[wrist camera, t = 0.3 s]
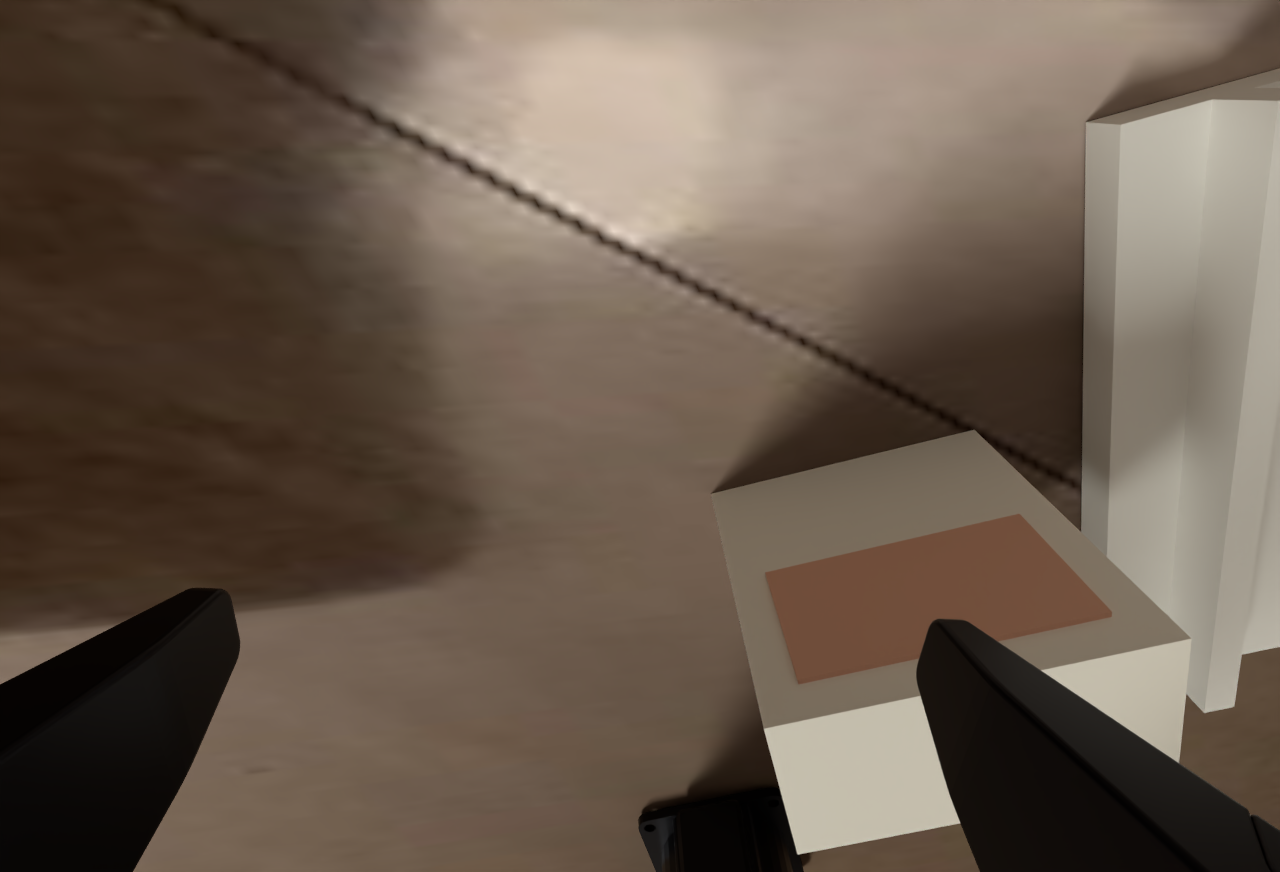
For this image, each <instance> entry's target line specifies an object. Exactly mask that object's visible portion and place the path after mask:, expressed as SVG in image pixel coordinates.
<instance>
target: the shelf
mask: <svg viewBox="0 0 1280 872" xmlns="http://www.w3.org/2000/svg"><path fill="white" fill-rule="evenodd" d="M1081 533H1082V534H1083V535H1084V536H1085V537H1087V538H1088V539H1089V540H1090V541H1091V542H1092V543H1093V544H1094V545H1095V546H1096V547H1097V548H1098V549H1099V550H1100V551H1101V552H1102V553H1103V554H1104V555H1105V556H1106V557H1107V558H1108V559H1109V560H1110V561H1111V562H1113V563H1114V564H1115V565H1116V566H1117V567H1118V568H1119V569H1120V570H1121V571H1122V572H1123V573H1124V574H1125V575H1126V576H1127V577H1128V578H1129V579H1130V580H1131V581H1132V582H1133V583H1134V584H1135V585H1136V586H1137V587H1139V588H1140V589H1141V590H1142V591H1143V592H1144V593H1145V594H1146V595H1147V596H1148V597H1149V598H1150V599H1151V600H1152V601H1153V602H1154V603H1155V604H1156V605H1157V606H1158V607H1159V608H1160V609H1161V610H1162V611H1164V612H1165V613H1166V614H1167V615H1168V616H1169V617H1170V618H1171V619H1172V620H1173V621H1174V622H1175V623H1176V624H1177V625H1178V626H1179V627H1180V628H1181V629H1182V630H1183V631H1184V632H1185V633H1186V634H1187V635H1188V636H1190V637H1191V638H1192V641H1191V650H1190V660H1189V670H1188V680H1187V689H1186V694H1187V695H1188V696H1189V697H1190V698H1191V699H1192V700H1193V701H1194V703H1195V704H1196V705H1197V706H1198V707H1199V708H1200V709H1201V710H1202V711H1203V712H1204V713H1206V712H1211V711H1216V710H1221V709H1226V708H1231V707H1234V704H1235V697H1236V690H1237V684H1238V677H1239V670H1240V663H1241V656H1242V654H1247V653H1252V652H1257V651H1261V650H1266V649H1271V648H1276V647H1280V68H1279V69H1275V70H1272V71H1268V72H1264V73H1261V74H1257V75H1254V76H1250V77H1247V78H1243V79H1239V80H1236V81H1232V82H1229V83H1225V84H1221V85H1218V86H1214V87H1211V88H1207V89H1203V90H1200V91H1196V92H1193V93H1189V94H1186V95H1182V96H1178V97H1175V98H1171V99H1168V100H1164V101H1160V102H1157V103H1153V104H1150V105H1146V106H1142V107H1139V108H1135V109H1132V110H1128V111H1125V112H1121V113H1117V114H1114V115H1110V116H1107V117H1103V118H1099V119H1096V120H1092V121H1089V122H1086V159H1085V246H1084V333H1083V420H1082V507H1081Z"/></svg>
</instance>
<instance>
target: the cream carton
mask: <svg viewBox="0 0 1280 872" xmlns="http://www.w3.org/2000/svg"><path fill="white" fill-rule="evenodd" d="M711 498H712V502H713V507H714V511H715V515H716V520H717V524H718V529H719V533H720V538H721V542H722V546H723V551H724V555H725V560H726V564H727V569H728V573H729V577H730V582H731V586H732V591H733V595H734V600H735V604H736V608H737V613H738V617H739V622H740V626H741V630H742V635H743V639H744V644H745V648H746V653H747V657H748V661H749V666H750V670H751V675H752V679H753V684H754V688H755V692H756V697H757V701H758V706H759V710H760V715H761V719H762V723H763V728H764V732H765V735H766V739H767V743H768V747H769V750H770V754H771V758H772V761H773V765H774V769H775V773H776V776H777V780H778V784H779V787H780V791H781V795H782V799H783V802H784V806H785V810H786V814H787V817H788V821H789V825H790V828H791V832H792V836H793V840H794V843H795V847H796V851H797V854H798V855H799V854H804V853H809V852H814V851H819V850H824V849H830V848H835V847H840V846H845V845H850V844H855V843H861V842H866V841H871V840H876V839H881V838H886V837H892V836H897V835H902V834H907V833H912V832H917V831H923V830H928V829H933V828H938V827H943V826H948V825H954V824H959V823H960V821H959V818H958V816H957V813H956V811H955V808H954V805H953V803H952V800H951V797H950V795H949V792H948V788H947V785H946V782H945V779H944V776H943V772H942V769H941V765H940V762H939V758H938V755H937V751H936V748H935V745H934V741H933V738H932V734H931V731H930V727H929V724H928V720H927V717H926V713H925V710H924V706H923V703H922V700H921V696H920V693H919V689H918V685H917V679H916V669H917V664H918V660H919V657H920V654H921V651H922V647H923V644H924V641H925V637H926V634H927V631H928V628H929V626H930V624H931V623H932V621H934V620H936V619H960V620H965V621H968V622H970V623H971V624H973V625H974V626H976V627H977V628H979V629H980V630H982V631H983V632H985V633H986V634H987V635H989V636H990V637H992V638H993V639H995V640H996V641H998V642H999V643H1001V644H1002V645H1004V646H1005V647H1007V648H1008V649H1010V650H1011V651H1013V652H1014V653H1016V654H1017V655H1019V656H1020V657H1022V658H1023V659H1025V660H1026V661H1028V662H1029V663H1031V664H1032V665H1034V666H1035V667H1037V668H1038V669H1040V670H1041V671H1043V672H1044V673H1046V674H1047V675H1049V676H1050V677H1052V678H1053V679H1054V680H1056V681H1057V682H1059V683H1060V684H1062V685H1063V686H1065V687H1066V688H1068V689H1069V690H1071V691H1072V692H1074V693H1075V694H1077V695H1078V696H1080V697H1081V698H1083V699H1084V700H1086V701H1087V702H1089V703H1090V704H1092V705H1093V706H1095V707H1096V708H1098V709H1099V710H1101V711H1102V712H1104V713H1105V714H1107V715H1108V716H1110V717H1111V718H1113V719H1114V720H1116V721H1117V722H1119V723H1120V724H1121V725H1123V726H1124V727H1126V728H1127V729H1129V730H1130V731H1132V732H1133V733H1135V734H1136V735H1138V736H1139V737H1141V738H1142V739H1144V740H1145V741H1147V742H1148V743H1150V744H1151V745H1153V746H1154V747H1156V748H1157V749H1159V750H1160V751H1162V752H1163V753H1165V754H1166V755H1168V756H1169V757H1171V758H1172V759H1174V760H1175V761H1177V762H1178V763H1179V758H1180V748H1181V738H1182V729H1183V719H1184V709H1185V699H1186V689H1187V680H1188V670H1189V660H1190V650H1191V641H1192V638H1191V637H1190V636H1188V635H1187V634H1186V633H1185V632H1184V631H1183V630H1182V629H1181V628H1180V627H1179V626H1178V625H1177V624H1176V623H1175V622H1174V621H1173V620H1172V619H1171V618H1170V617H1169V616H1168V615H1167V614H1166V613H1165V612H1164V611H1162V610H1161V609H1160V608H1159V607H1158V606H1157V605H1156V604H1155V603H1154V602H1153V601H1152V600H1151V599H1150V598H1149V597H1148V596H1147V595H1146V594H1145V593H1144V592H1143V591H1142V590H1141V589H1140V588H1139V587H1137V586H1136V585H1135V584H1134V583H1133V582H1132V581H1131V580H1130V579H1129V578H1128V577H1127V576H1126V575H1125V574H1124V573H1123V572H1122V571H1121V570H1120V569H1119V568H1118V567H1117V566H1116V565H1115V564H1114V563H1113V562H1111V561H1110V560H1109V559H1108V558H1107V557H1106V556H1105V555H1104V554H1103V553H1102V552H1101V551H1100V550H1099V549H1098V548H1097V547H1096V546H1095V545H1094V544H1093V543H1092V542H1091V541H1090V540H1089V539H1088V538H1087V537H1085V536H1084V535H1083V534H1082V533H1081V532H1080V531H1079V530H1078V529H1077V528H1076V527H1075V526H1074V525H1073V524H1072V523H1071V522H1070V521H1069V520H1068V519H1067V518H1066V517H1065V516H1064V515H1063V514H1062V513H1060V512H1059V511H1058V510H1057V509H1056V508H1055V507H1054V506H1053V505H1052V504H1051V503H1050V502H1049V501H1048V500H1047V499H1046V498H1045V497H1044V496H1043V495H1042V494H1041V493H1040V492H1039V491H1038V490H1037V489H1036V488H1034V487H1033V486H1032V485H1031V484H1030V483H1029V482H1028V481H1027V480H1026V479H1025V478H1024V477H1023V476H1022V475H1021V474H1020V473H1019V472H1018V471H1017V470H1016V469H1015V468H1014V467H1013V466H1012V465H1011V464H1009V463H1008V462H1007V461H1006V460H1005V459H1004V458H1003V457H1002V456H1001V455H1000V454H999V453H998V452H997V451H996V450H995V449H994V448H993V447H992V446H991V445H990V444H989V443H988V442H987V441H986V440H985V439H983V438H982V437H981V436H980V435H979V434H978V433H977V432H976V431H975V430H971V431H967V432H963V433H958V434H954V435H950V436H946V437H942V438H938V439H934V440H930V441H926V442H922V443H917V444H913V445H909V446H905V447H901V448H897V449H893V450H889V451H885V452H880V453H876V454H872V455H868V456H864V457H860V458H856V459H852V460H848V461H844V462H839V463H835V464H831V465H827V466H823V467H819V468H815V469H811V470H807V471H802V472H798V473H794V474H790V475H786V476H782V477H778V478H774V479H770V480H766V481H761V482H757V483H753V484H749V485H745V486H741V487H737V488H733V489H729V490H725V491H720V492H716V493H712V494H711Z"/></svg>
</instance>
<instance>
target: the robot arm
mask: <svg viewBox="0 0 1280 872" xmlns="http://www.w3.org/2000/svg"><path fill="white" fill-rule="evenodd" d="M239 651H240V638H239V633H238V628H237V623H236V619H235V614H234V609H233V605H232V600H231V597H230V595H229V594H228V592H227V591H225V590H223V589H215V588H191V589H188V590H185V591H183V592H181V593H179V594H177V595H175V596H174V597H172V598H170V599H168V600H166V601H164V602H162V603H160V604H158V605H156V606H154V607H152V608H150V609H148V610H146V611H144V612H142V613H140V614H138V615H136V616H134V617H132V618H130V619H128V620H126V621H124V622H122V623H120V624H118V625H116V626H114V627H113V628H111V629H109V630H107V631H105V632H103V633H101V634H99V635H97V636H95V637H93V638H91V639H89V640H87V641H85V642H83V643H81V644H79V645H77V646H75V647H73V648H71V649H69V650H67V651H65V652H63V653H61V654H59V655H57V656H55V657H54V658H52V659H50V660H48V661H46V662H44V663H42V664H40V665H38V666H36V667H34V668H32V669H30V670H28V671H26V672H24V673H22V674H20V675H18V676H16V677H14V678H12V679H10V680H8V681H6V682H4V683H2V684H0V872H133V871H134V869H135V867H136V865H137V863H138V862H139V860H140V858H141V856H142V855H143V853H144V851H145V849H146V847H147V846H148V844H149V842H150V840H151V839H152V837H153V835H154V833H155V831H156V830H157V828H158V826H159V824H160V823H161V821H162V819H163V817H164V815H165V814H166V812H167V810H168V808H169V807H170V805H171V803H172V801H173V799H174V798H175V796H176V794H177V792H178V790H179V789H180V787H181V785H182V783H183V781H184V779H185V777H186V775H187V773H188V771H189V769H190V767H191V765H192V763H193V761H194V758H195V756H196V754H197V752H198V750H199V747H200V745H201V743H202V740H203V738H204V736H205V733H206V731H207V729H208V726H209V724H210V722H211V720H212V717H213V715H214V713H215V710H216V708H217V706H218V703H219V701H220V699H221V696H222V694H223V692H224V690H225V687H226V685H227V683H228V680H229V678H230V676H231V673H232V671H233V669H234V667H235V664H236V662H237V659H238V656H239ZM916 679H917V685H918V689H919V693H920V696H921V700H922V703H923V706H924V710H925V713H926V717H927V720H928V724H929V727H930V731H931V734H932V738H933V741H934V745H935V748H936V751H937V755H938V758H939V762H940V765H941V769H942V772H943V776H944V779H945V782H946V785H947V788H948V792H949V795H950V797H951V800H952V803H953V805H954V808H955V811H956V813H957V816H958V818H959V821H960V823H961V826H962V828H963V831H964V833H965V836H966V838H967V841H968V843H969V846H970V848H971V851H972V853H973V855H974V858H975V860H976V863H977V865H978V868H979V870H980V872H1280V831H1279V830H1278V829H1277V828H1275V827H1274V826H1272V825H1271V824H1269V823H1268V822H1266V821H1265V820H1263V819H1262V818H1260V817H1259V816H1257V815H1250V813H1249V811H1248V810H1247V809H1246V808H1245V807H1244V806H1242V805H1241V804H1239V803H1238V802H1236V801H1235V800H1233V799H1232V798H1230V797H1229V796H1227V795H1226V794H1224V793H1223V792H1221V791H1220V790H1218V789H1217V788H1215V787H1214V786H1212V785H1211V784H1209V783H1208V782H1206V781H1205V780H1203V779H1202V778H1200V777H1199V776H1197V775H1196V774H1194V773H1193V772H1191V771H1190V770H1189V769H1187V768H1186V767H1184V766H1183V765H1181V764H1180V763H1178V762H1177V761H1175V760H1174V759H1172V758H1171V757H1169V756H1168V755H1166V754H1165V753H1163V752H1162V751H1160V750H1159V749H1157V748H1156V747H1154V746H1153V745H1151V744H1150V743H1148V742H1147V741H1145V740H1144V739H1142V738H1141V737H1139V736H1138V735H1136V734H1135V733H1133V732H1132V731H1130V730H1129V729H1127V728H1126V727H1124V726H1123V725H1121V724H1120V723H1119V722H1117V721H1116V720H1114V719H1113V718H1111V717H1110V716H1108V715H1107V714H1105V713H1104V712H1102V711H1101V710H1099V709H1098V708H1096V707H1095V706H1093V705H1092V704H1090V703H1089V702H1087V701H1086V700H1084V699H1083V698H1081V697H1080V696H1078V695H1077V694H1075V693H1074V692H1072V691H1071V690H1069V689H1068V688H1066V687H1065V686H1063V685H1062V684H1060V683H1059V682H1057V681H1056V680H1054V679H1053V678H1052V677H1050V676H1049V675H1047V674H1046V673H1044V672H1043V671H1041V670H1040V669H1038V668H1037V667H1035V666H1034V665H1032V664H1031V663H1029V662H1028V661H1026V660H1025V659H1023V658H1022V657H1020V656H1019V655H1017V654H1016V653H1014V652H1013V651H1011V650H1010V649H1008V648H1007V647H1005V646H1004V645H1002V644H1001V643H999V642H998V641H996V640H995V639H993V638H992V637H990V636H989V635H987V634H986V633H985V632H983V631H982V630H980V629H979V628H977V627H976V626H974V625H973V624H971V623H970V622H968V621H965V620H960V619H936V620H934V621H932V623H931V624H930V626H929V628H928V631H927V634H926V637H925V641H924V644H923V647H922V651H921V654H920V657H919V660H918V664H917V669H916ZM638 821H639V832H640V834H641V836H642V839H643V841H644V844H645V846H646V848H647V851H648V853H649V856H650V858H651V860H652V863H653V865H654V868H655V870H656V872H804V871H803V867H802V863H801V859H800V856H799V855H798V854H797V851H796V847H795V843H794V840H793V836H792V832H791V828H790V825H789V821H788V817H787V814H786V810H785V806H784V802H783V799H782V795H781V791H780V789H778V788H774V787H772V788H765V789H761V790H756V791H751V792H746V793H741V794H736V795H731V796H726V797H721V798H716V799H711V800H706V801H702V802H697V803H692V804H687V805H682V806H677V807H672V808H667V809H662V810H657V811H652V812H648V813H644V814H642V815H641V816H640V817H639V819H638Z"/></svg>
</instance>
